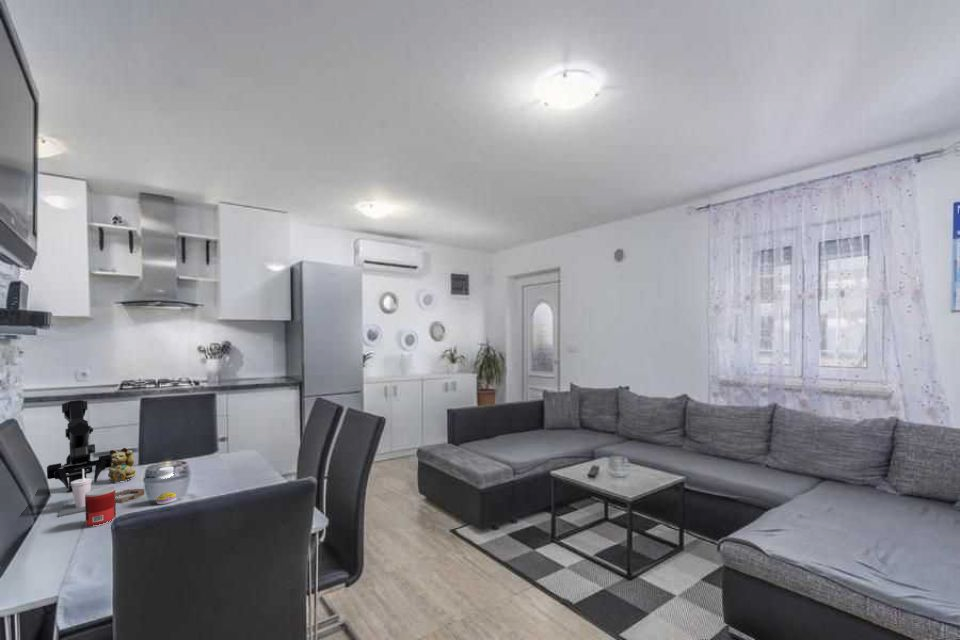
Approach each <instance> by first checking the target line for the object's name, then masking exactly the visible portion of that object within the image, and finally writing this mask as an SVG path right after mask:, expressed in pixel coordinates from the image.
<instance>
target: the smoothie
mask: <svg viewBox="0 0 960 640" xmlns="http://www.w3.org/2000/svg"><path fill="white" fill-rule="evenodd" d="M92 482H94V479H93V477H86V478H84V469H82V479H79V480H75V481H72V482H71V483H70V484H71V485H70V486H72V490H73V491H72V495H73V500H74V503H75V505H76V508H80V507H85V494H86V493H87V492H89V491H92V490H91V489H92Z"/></svg>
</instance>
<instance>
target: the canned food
mask: <svg viewBox="0 0 960 640" xmlns="http://www.w3.org/2000/svg"><path fill="white" fill-rule="evenodd" d="M115 493H116V488H115V486H105V487H99V488H96V489H92V490H91V491H89V492H87V493H86V494H85V511H84V512H85V525H86V526H87V527H88V526H93V525H99V524H103V523H106V522H107V521H108V522H109V521H110V520H111V521H112V519H113V518H114V517H115V518H116V516H117V510H116V509H117V508H116V501H115ZM111 521H110V523H112V522H113V521H112V522H111Z"/></svg>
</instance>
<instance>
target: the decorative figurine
mask: <svg viewBox="0 0 960 640" xmlns="http://www.w3.org/2000/svg"><path fill="white" fill-rule="evenodd" d="M109 454H110V455H112V466H111V467H108V473H107V476H108V478H109V481H110V482H119V481H126V480H128V479H130V478H132V479H133V478H134V477H135V476H136V475H135V473H136V469H135V468H134V467H133V465H134V463H135V458H134V454H133V450H131V449H130V450H129V449H128V448H127V447H123V448H121V450H120V451H117V450H116V449H112V450H110V451H109ZM130 480H131V479H130ZM128 481H129V480H128Z"/></svg>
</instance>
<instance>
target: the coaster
mask: <svg viewBox="0 0 960 640" xmlns="http://www.w3.org/2000/svg"><path fill="white" fill-rule="evenodd" d="M83 512H86V511H85V507H80V508H76V505H75V502H74V503H70V504H65V505H62V507H61V509H60V511H59V513H58V515H57V517H58V516H61V517H65V516H64V515H66V516H69V515H74V514H79V513H83Z"/></svg>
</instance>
